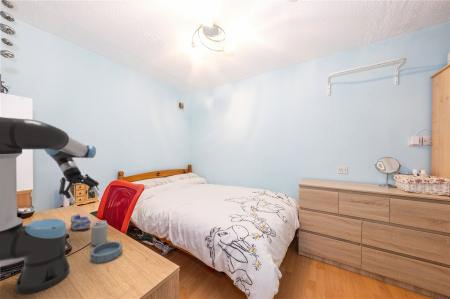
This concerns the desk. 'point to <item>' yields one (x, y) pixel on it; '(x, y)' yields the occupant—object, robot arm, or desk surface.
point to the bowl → (106, 252)
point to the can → (99, 233)
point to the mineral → (79, 222)
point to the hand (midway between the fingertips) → (87, 198)
